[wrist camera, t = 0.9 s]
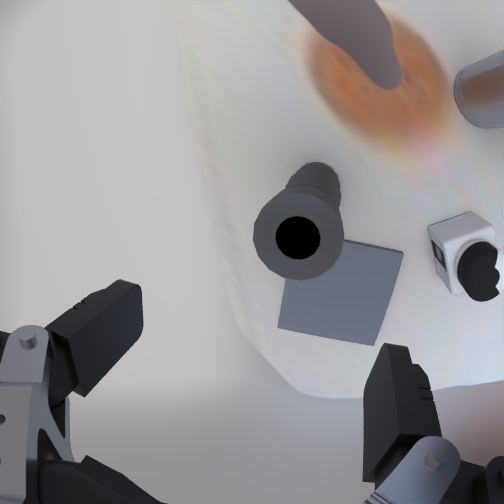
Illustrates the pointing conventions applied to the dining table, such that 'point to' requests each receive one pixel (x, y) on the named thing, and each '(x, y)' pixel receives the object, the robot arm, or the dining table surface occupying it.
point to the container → (468, 256)
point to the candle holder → (302, 225)
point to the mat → (344, 295)
